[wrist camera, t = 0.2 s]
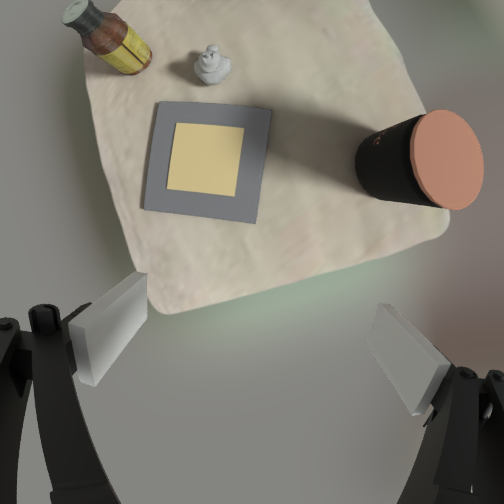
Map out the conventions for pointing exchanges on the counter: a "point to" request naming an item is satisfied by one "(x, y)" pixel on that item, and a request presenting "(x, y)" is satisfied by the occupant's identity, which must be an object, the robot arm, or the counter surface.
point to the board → (207, 160)
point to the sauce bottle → (108, 37)
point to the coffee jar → (423, 162)
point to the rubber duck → (212, 66)
